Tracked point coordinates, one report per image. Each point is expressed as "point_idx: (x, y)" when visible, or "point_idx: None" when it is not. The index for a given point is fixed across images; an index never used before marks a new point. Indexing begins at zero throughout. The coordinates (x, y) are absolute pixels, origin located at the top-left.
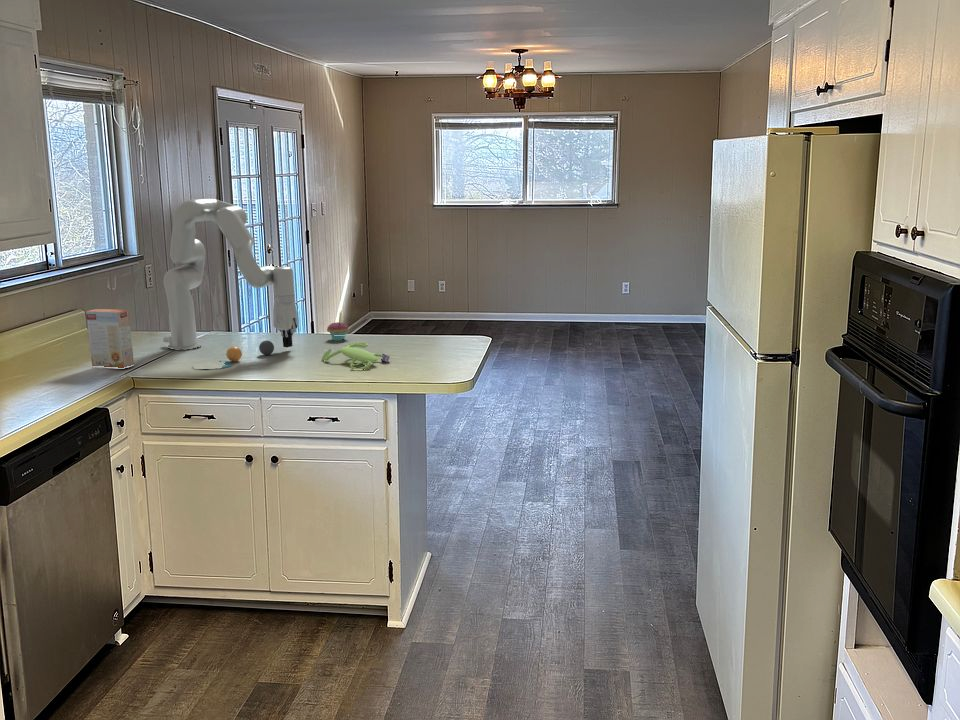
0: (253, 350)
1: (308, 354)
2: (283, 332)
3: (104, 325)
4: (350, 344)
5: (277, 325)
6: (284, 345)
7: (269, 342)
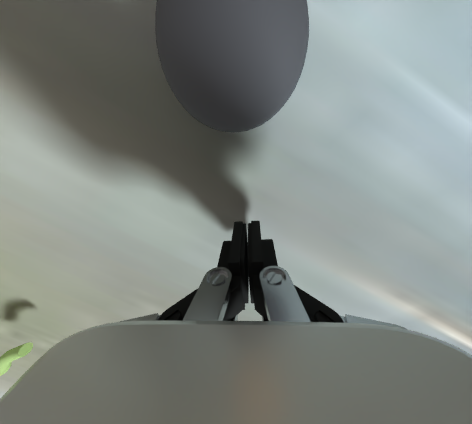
0: (465, 77)
1: (114, 242)
2: (265, 304)
3: None
4: (9, 353)
5: (343, 389)
6: (248, 226)
7: (171, 50)
